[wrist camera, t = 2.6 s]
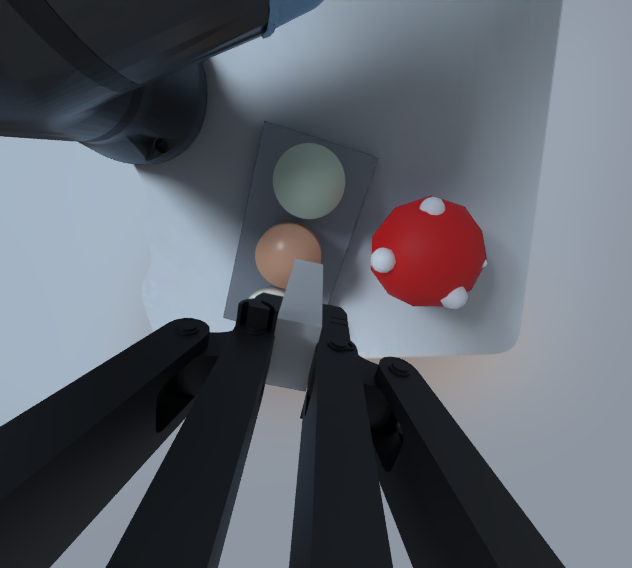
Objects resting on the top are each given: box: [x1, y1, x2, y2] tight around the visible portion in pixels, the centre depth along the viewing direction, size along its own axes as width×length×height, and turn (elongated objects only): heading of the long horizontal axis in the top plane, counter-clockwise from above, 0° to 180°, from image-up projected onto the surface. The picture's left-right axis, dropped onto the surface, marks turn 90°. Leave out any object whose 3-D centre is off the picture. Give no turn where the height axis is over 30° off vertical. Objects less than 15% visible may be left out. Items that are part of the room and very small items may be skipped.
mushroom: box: [370, 196, 488, 309], centre depth 31 cm, size 11×11×12 cm
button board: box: [223, 121, 378, 321], centre depth 36 cm, size 12×23×3 cm, turn 163°
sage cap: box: [273, 143, 345, 219], centre depth 29 cm, size 7×7×2 cm
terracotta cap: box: [255, 221, 321, 289], centre depth 32 cm, size 7×7×2 cm
